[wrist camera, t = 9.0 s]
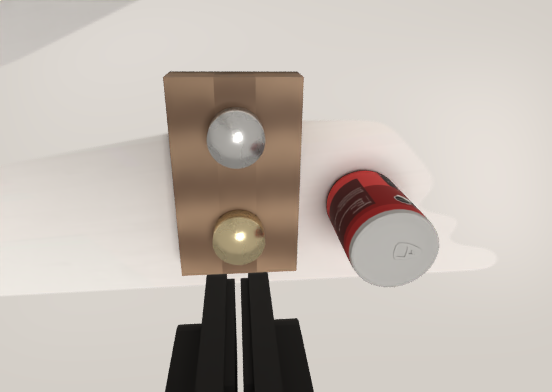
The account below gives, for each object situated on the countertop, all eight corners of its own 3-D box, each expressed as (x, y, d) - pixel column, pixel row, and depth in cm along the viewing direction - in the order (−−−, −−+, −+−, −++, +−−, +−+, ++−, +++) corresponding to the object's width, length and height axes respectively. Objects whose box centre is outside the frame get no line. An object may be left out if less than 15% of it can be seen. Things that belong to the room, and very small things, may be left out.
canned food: (396, 223, 47) (440, 279, 37) (328, 236, 47) (354, 295, 37) (393, 161, 44) (441, 204, 34) (320, 175, 44) (346, 221, 34)
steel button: (209, 99, 39) (205, 112, 34) (260, 98, 40) (265, 111, 34) (211, 149, 41) (208, 169, 36) (261, 148, 42) (265, 168, 36)
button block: (169, 71, 38) (163, 77, 34) (297, 71, 39) (303, 77, 35) (186, 255, 46) (182, 275, 42) (291, 251, 47) (296, 270, 43)
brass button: (214, 194, 43) (211, 220, 38) (261, 193, 44) (265, 218, 38) (216, 235, 45) (213, 266, 40) (261, 234, 46) (265, 263, 40)
